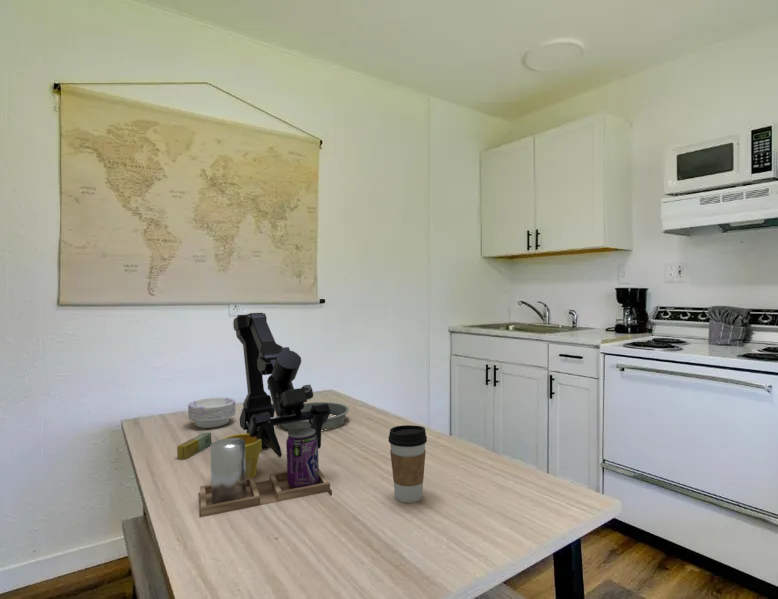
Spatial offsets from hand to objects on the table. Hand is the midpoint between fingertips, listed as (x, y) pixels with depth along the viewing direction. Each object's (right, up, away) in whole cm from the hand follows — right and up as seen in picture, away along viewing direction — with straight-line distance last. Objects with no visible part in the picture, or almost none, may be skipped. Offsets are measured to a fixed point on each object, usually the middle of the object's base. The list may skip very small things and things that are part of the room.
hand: (300, 451), depth 102 cm
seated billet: (-14, -8, -5) cm, 17 cm away
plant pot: (-16, -9, +8) cm, 20 cm away
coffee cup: (+24, -9, -3) cm, 26 cm away
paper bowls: (-41, -9, +55) cm, 69 cm away
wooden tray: (-7, -9, -2) cm, 12 cm away
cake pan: (-6, -9, +54) cm, 56 cm away
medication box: (-36, -10, +28) cm, 46 cm away
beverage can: (0, -8, +2) cm, 8 cm away
